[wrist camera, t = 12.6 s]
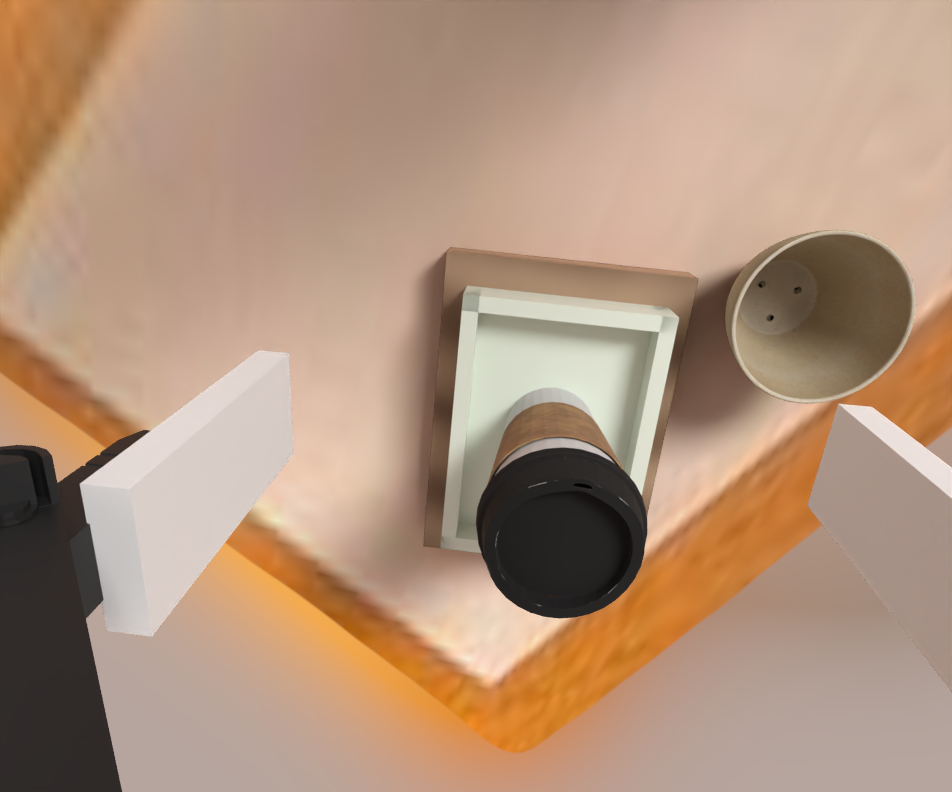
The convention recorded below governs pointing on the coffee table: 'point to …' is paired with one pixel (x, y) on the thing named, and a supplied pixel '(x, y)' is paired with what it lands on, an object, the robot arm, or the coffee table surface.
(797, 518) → the coffee table surface
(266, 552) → the coffee table surface
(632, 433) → the tray
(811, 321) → the flower pot
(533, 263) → the shelf board
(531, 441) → the coffee cup
